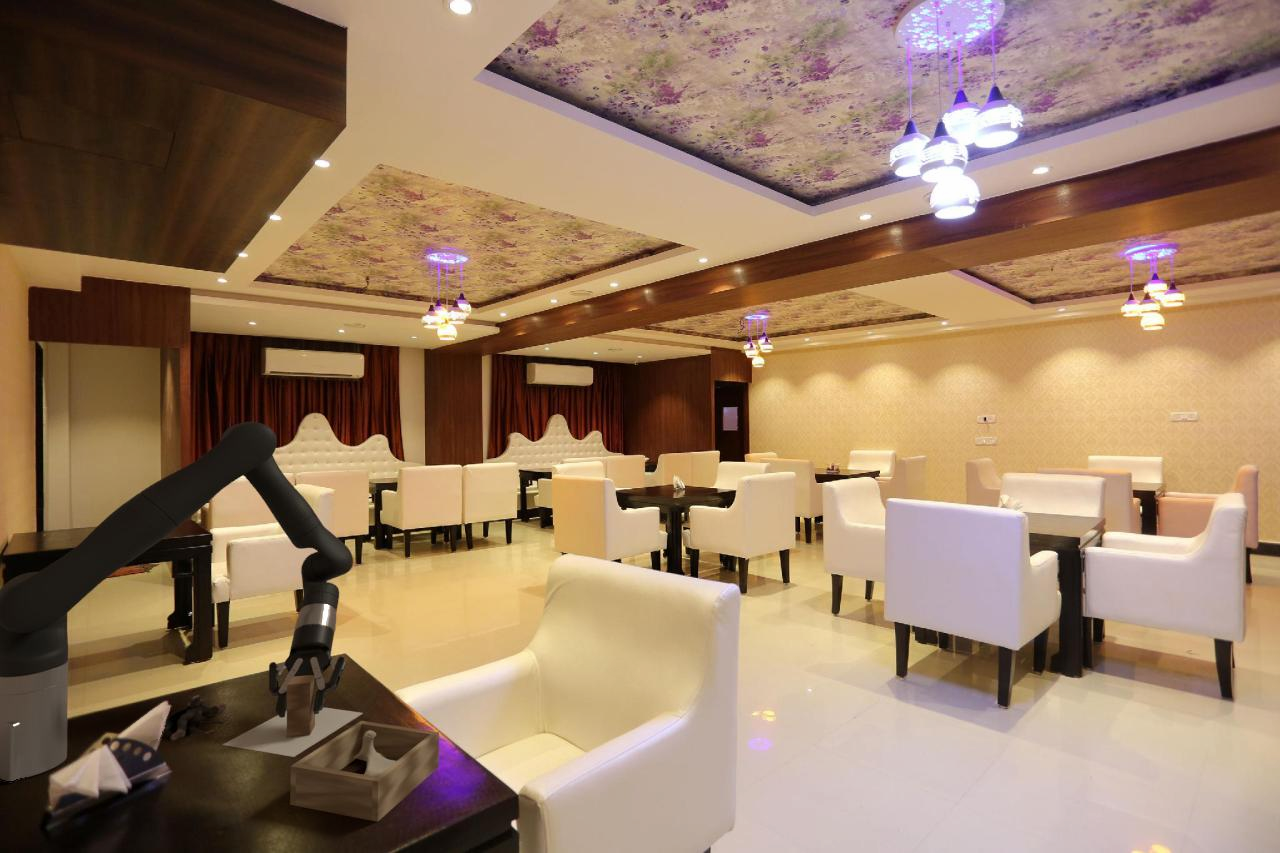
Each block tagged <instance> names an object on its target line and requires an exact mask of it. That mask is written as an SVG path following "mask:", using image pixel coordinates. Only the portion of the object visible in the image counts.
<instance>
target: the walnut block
mask: <svg viewBox="0 0 1280 853" xmlns="http://www.w3.org/2000/svg"><path fill="white" fill-rule="evenodd" d="M315 695H316V679H315V675H306V676H294V677H292V679H291V680H290V681H289V683H288V684H287V708H286V711H287V738H290V737H299V736H308V735H310V734H311V732H312V731H313V729H314V727H315V714H314V712H313V707H314V701H315Z"/></svg>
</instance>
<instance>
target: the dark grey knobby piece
mask: <svg viewBox="0 0 1280 853" xmlns="http://www.w3.org/2000/svg"><path fill="white" fill-rule="evenodd" d="M204 704H205V699H204V698H203V696H202V695H201V694H197V695H195V696H192V697H190V699H189V700H188V701H187V704H186V705H185V706H186V707H184V708H182V709H180V710H178V711H174V712H173V713H171V714H170V715H169V716H168V717H167V718H166V719H167V721H166V720H165V722H166V725H165V729H164V733H163V732H162V736H163V737H162V738H169V739H170V741H173V742H174V741H177V740H179V739H183V738H185V736H186V735H187V733H188V734H189V735H192V734H193V733H194V734H202V735H203V734H205V735H212V734H214V733H215V730H214V729H211V730H209V731H205V730H201V729H199V728H198V727H199V726H200V725H201V724H202V725H212V724H213V725H214V724H220V725H229V724H233V722H234V721H233V720H230V721H229V722H227V721H226V722H225V721H221V720H219V719H216V720H210V721H209V720H208V721H204V720H201V717H203V718H208V717H214V716H217V715H220V714H221V713H223V712H224V711H225V710H227V708H228V705H227V703H220V704H217V705H214V706H211V707H210V706H208V705H206V704H205V705H204Z"/></svg>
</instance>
